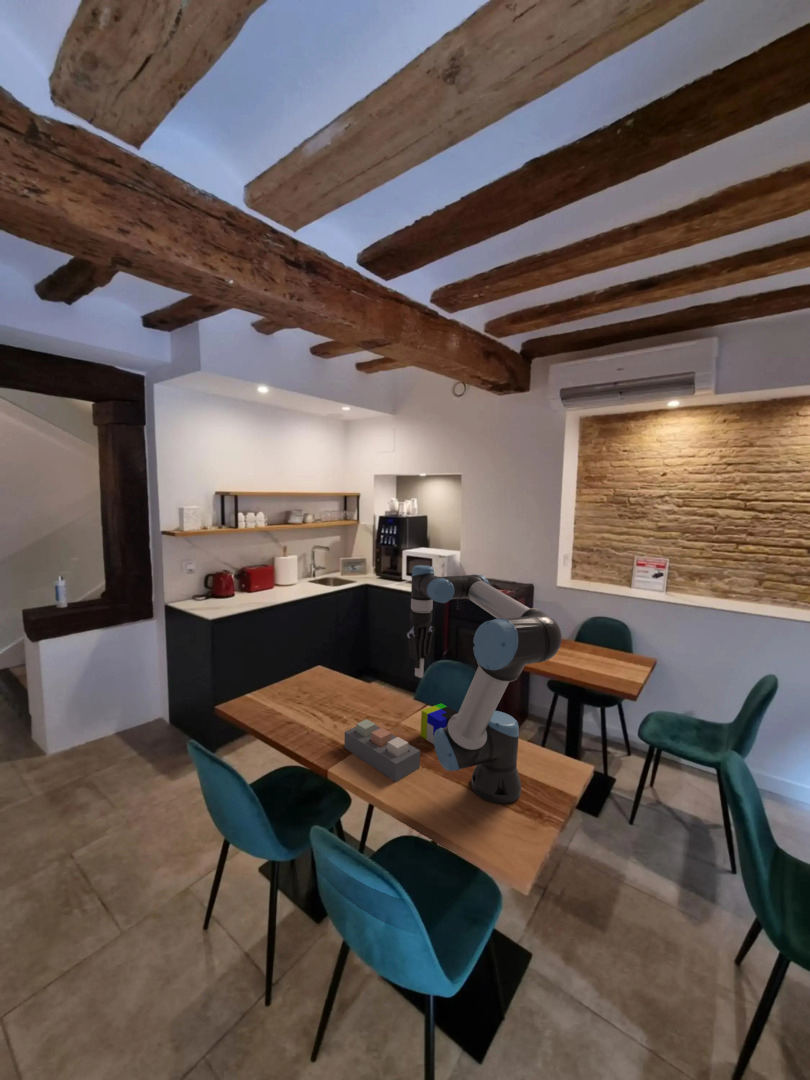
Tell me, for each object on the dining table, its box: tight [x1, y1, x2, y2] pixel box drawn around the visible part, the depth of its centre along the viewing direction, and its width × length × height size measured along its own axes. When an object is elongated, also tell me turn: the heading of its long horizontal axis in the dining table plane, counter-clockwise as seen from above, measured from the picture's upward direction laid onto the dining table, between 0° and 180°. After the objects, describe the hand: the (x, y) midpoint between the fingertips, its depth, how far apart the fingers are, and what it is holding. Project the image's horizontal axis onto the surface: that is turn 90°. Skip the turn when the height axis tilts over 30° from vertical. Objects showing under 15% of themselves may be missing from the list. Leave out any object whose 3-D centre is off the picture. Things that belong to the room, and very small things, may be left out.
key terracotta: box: [371, 727, 392, 748], centre depth 154 cm, size 5×5×8 cm
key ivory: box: [387, 736, 409, 758], centre depth 148 cm, size 5×5×8 cm
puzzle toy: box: [420, 702, 459, 745], centre depth 168 cm, size 10×10×10 cm
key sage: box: [355, 718, 377, 738], centre depth 160 cm, size 5×5×8 cm
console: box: [343, 725, 421, 783], centre depth 154 cm, size 26×11×6 cm, turn 45°
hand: (419, 676), depth 159 cm, fingers closed
